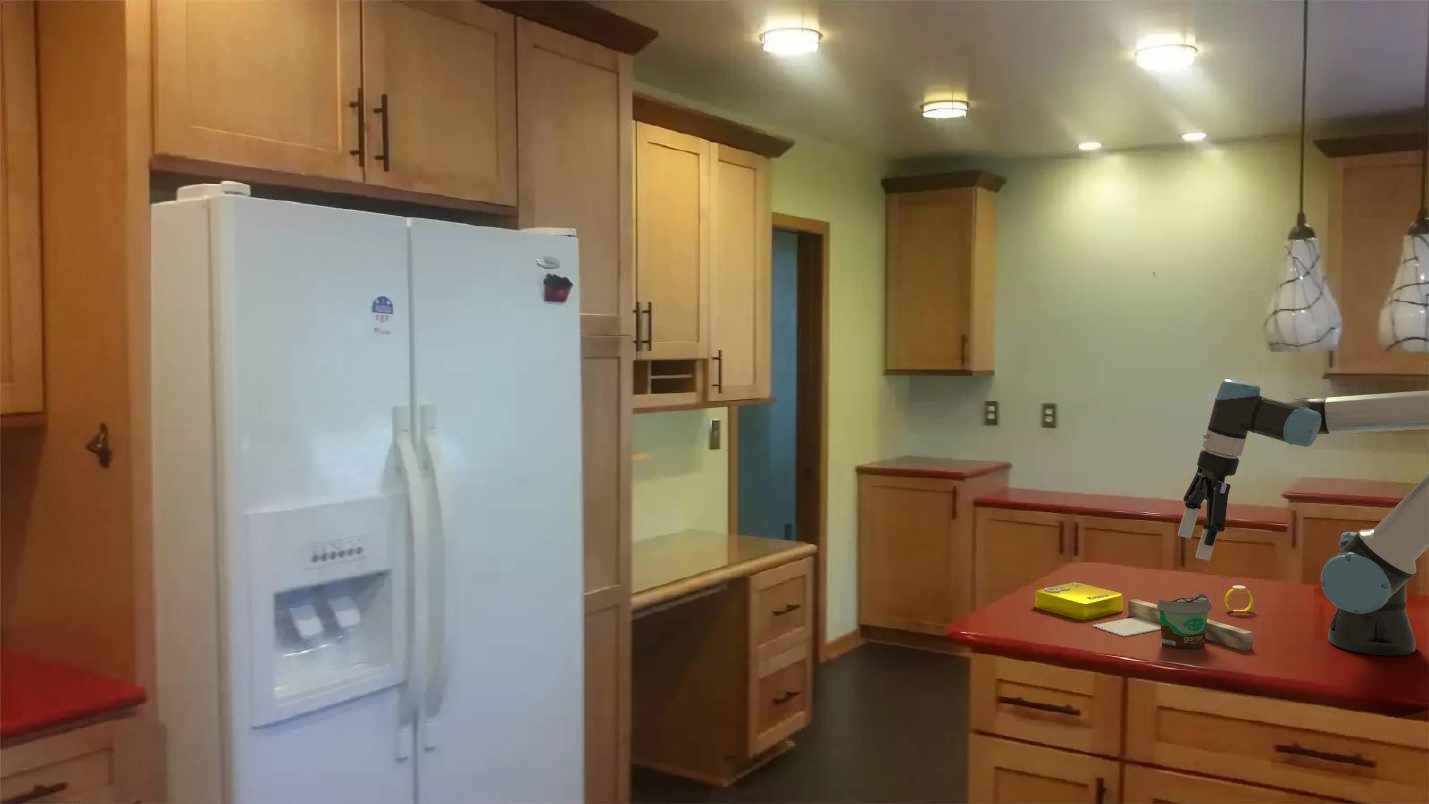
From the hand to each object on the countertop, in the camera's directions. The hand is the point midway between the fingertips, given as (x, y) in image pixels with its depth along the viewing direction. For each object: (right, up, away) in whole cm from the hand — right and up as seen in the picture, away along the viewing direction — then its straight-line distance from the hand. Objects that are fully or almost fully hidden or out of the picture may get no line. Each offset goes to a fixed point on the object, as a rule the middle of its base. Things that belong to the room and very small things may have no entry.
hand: (1193, 547), depth 226 cm
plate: (-11, -18, +7) cm, 22 cm away
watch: (+19, -17, +18) cm, 31 cm away
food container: (-4, -20, -7) cm, 21 cm away
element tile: (-16, -18, +23) cm, 34 cm away
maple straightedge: (0, -19, +3) cm, 19 cm away
